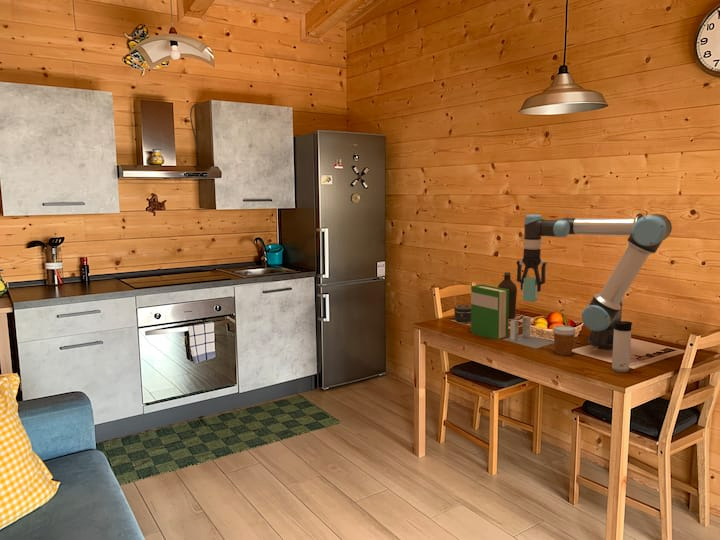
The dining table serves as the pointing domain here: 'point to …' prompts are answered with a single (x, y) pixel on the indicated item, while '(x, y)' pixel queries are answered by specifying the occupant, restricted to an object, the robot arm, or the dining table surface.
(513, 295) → the olive oil
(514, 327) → the post
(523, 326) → the goal post
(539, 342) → the board
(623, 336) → the travel mug
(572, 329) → the disposable coffee cup
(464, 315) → the jar
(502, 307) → the hardback book
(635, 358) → the dining table surface
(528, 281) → the grey-green piece
